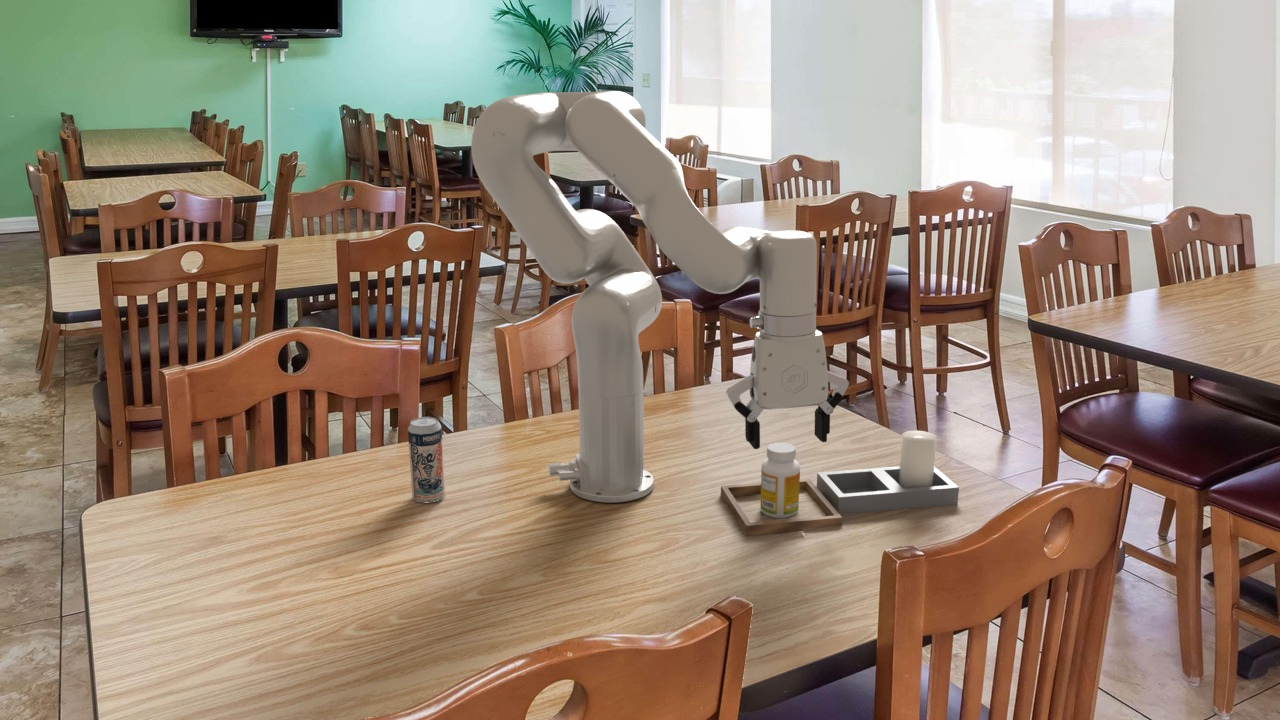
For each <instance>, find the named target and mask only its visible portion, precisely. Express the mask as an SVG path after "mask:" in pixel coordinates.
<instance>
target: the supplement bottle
mask: <svg viewBox="0 0 1280 720" xmlns="http://www.w3.org/2000/svg"><path fill="white" fill-rule="evenodd" d="M796 451H797V449H796V446H795V445H793V444H791V443H786V442H773V443H770V444H768V445H767V447H766V456H767V458H766V459H764V460H763V462H762V463H761V476H760V477H761V478H760V479H761V480H760V481H761V482H760V483H761V494H760V511H761V512H762V513H763V515H766V516H768V517H770V518H773V519H787V518H791V517H793V516H794V515H796V514H797V513H798V512H799V508H800V507H799V503H800V489H799V483H800V480H801V478H800V477H801V466H800V464H799V462H798V461H797V460H796V455H797V452H796Z"/></svg>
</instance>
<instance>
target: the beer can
mask: <svg viewBox="0 0 1280 720" xmlns="http://www.w3.org/2000/svg"><path fill="white" fill-rule="evenodd" d="M442 429H443V428H442V425H441V423H440V422H439V419H437V418H436V417H434V416H433V417H431V416H421V417H418V418H414V419H412V420H411V421H410V423H409V426H408V427H407V438H408V451H409V468H410V469H409V470H410V480H411V481H410V483H411V496H412V499H413V500H415V501H416V502H418V501H419V502H418V503H420V502H434V501H437V500H439V501H441V500H442V499H444V498H445V496H446V493H447V492H446V480H445V479H446V477H445V476H446V475H445V461H444V446H443V445H444V444H443V430H442ZM443 497H444V498H443ZM440 499H441V500H440ZM437 502H438V501H437Z"/></svg>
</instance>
